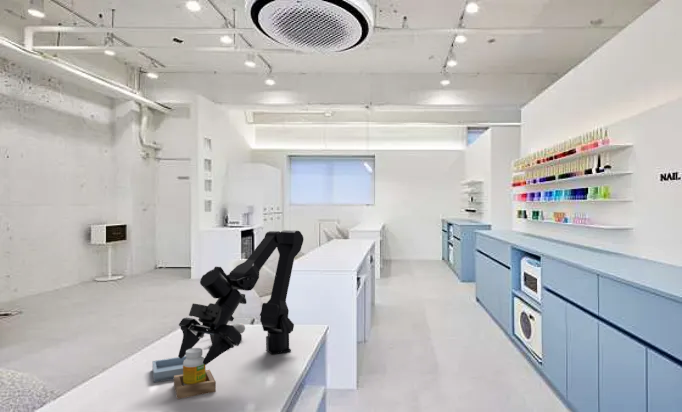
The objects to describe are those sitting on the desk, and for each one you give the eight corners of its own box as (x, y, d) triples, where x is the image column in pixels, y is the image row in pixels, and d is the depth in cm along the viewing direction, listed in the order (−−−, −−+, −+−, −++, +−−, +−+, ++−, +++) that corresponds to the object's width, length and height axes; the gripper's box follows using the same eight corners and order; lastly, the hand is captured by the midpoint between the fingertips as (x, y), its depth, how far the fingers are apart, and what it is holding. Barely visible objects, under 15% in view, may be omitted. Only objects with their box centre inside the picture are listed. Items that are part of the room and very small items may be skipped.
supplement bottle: (198, 393, 104) (198, 354, 104) (178, 392, 105) (178, 353, 105) (209, 385, 109) (209, 347, 110) (190, 383, 111) (190, 346, 111)
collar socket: (209, 378, 113) (209, 369, 113) (215, 391, 105) (215, 381, 105) (173, 385, 109) (173, 375, 109) (177, 399, 101) (177, 388, 101)
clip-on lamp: (188, 350, 146) (229, 345, 139) (184, 332, 146) (224, 326, 139) (211, 337, 157) (250, 332, 150) (207, 321, 157) (245, 314, 150)
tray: (196, 362, 126) (196, 354, 126) (201, 374, 117) (201, 365, 117) (152, 369, 120) (152, 361, 120) (154, 382, 111) (154, 372, 111)
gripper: (184, 288, 116) (148, 338, 107) (233, 294, 107) (198, 350, 97) (207, 310, 123) (174, 360, 113) (255, 318, 113) (224, 373, 104)
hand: (191, 360), depth 107 cm, fingers open, 9 cm apart
